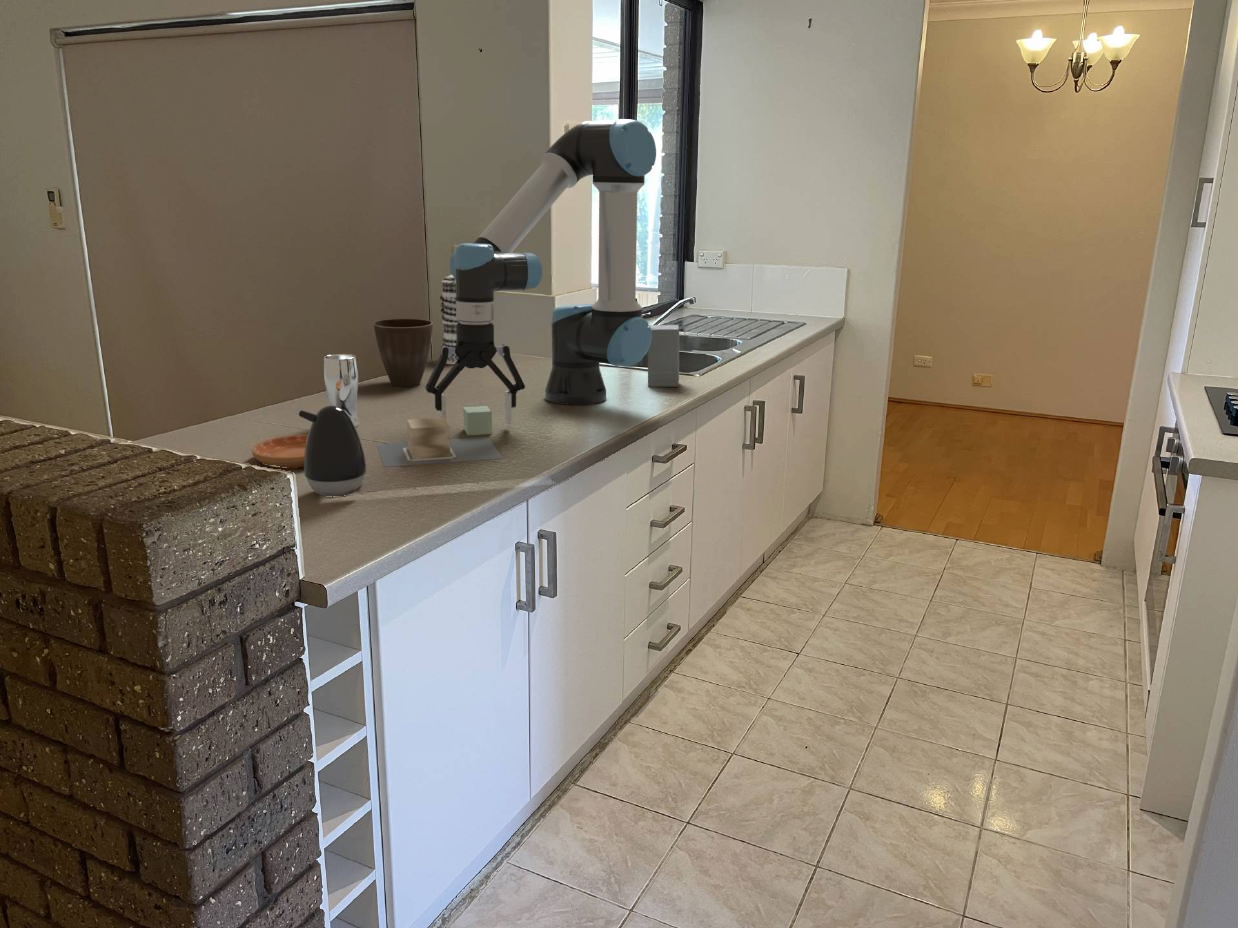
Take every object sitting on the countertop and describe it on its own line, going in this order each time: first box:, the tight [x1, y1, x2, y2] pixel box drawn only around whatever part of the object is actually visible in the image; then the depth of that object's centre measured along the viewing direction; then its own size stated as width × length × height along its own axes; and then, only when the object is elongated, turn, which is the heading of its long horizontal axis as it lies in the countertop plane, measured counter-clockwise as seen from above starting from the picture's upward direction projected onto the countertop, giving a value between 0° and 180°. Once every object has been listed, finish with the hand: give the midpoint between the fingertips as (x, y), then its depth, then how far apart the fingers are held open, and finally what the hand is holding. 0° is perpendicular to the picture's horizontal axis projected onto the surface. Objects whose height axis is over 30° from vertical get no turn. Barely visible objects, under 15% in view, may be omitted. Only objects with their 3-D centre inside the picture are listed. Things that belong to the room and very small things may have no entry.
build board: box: [376, 436, 504, 468], centre depth 184 cm, size 22×16×1 cm
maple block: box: [406, 417, 451, 459], centre depth 181 cm, size 7×7×6 cm
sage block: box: [462, 405, 493, 436], centre depth 198 cm, size 5×5×6 cm
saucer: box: [251, 434, 308, 469], centre depth 181 cm, size 16×16×3 cm
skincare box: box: [647, 324, 680, 388], centre depth 250 cm, size 8×7×16 cm
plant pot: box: [373, 318, 434, 387], centre depth 246 cm, size 15×15×16 cm
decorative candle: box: [439, 274, 459, 365], centre depth 275 cm, size 9×9×25 cm
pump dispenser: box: [298, 405, 367, 498], centre depth 160 cm, size 10×10×15 cm
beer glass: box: [323, 353, 360, 428], centre depth 204 cm, size 7×7×15 cm
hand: (476, 424), depth 198 cm, fingers open, 13 cm apart
